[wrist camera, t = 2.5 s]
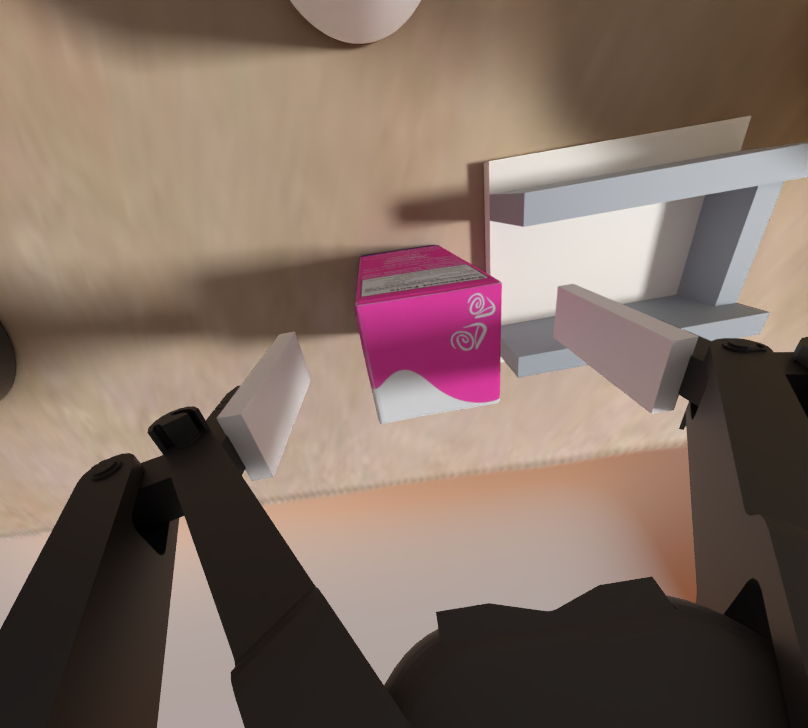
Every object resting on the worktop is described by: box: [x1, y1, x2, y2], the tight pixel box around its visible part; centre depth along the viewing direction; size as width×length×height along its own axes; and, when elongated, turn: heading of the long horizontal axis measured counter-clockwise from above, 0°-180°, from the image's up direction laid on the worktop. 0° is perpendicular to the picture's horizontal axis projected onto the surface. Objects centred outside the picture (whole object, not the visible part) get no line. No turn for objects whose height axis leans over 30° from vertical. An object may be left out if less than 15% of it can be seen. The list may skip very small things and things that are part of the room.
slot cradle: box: [484, 115, 808, 378], centre depth 20 cm, size 16×14×6 cm
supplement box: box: [355, 245, 502, 424], centre depth 17 cm, size 6×6×12 cm
